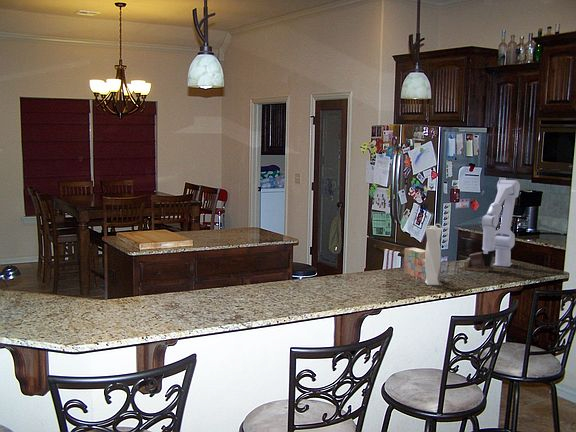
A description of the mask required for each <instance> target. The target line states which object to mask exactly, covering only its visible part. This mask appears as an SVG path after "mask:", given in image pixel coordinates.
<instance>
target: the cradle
mask: <svg viewBox="0 0 576 432" xmlns="http://www.w3.org/2000/svg"><path fill="white" fill-rule="evenodd" d="M493 267H494V265H493V264H491V265H490V267H488V266H486V267H484V268H472V265H471V261H470V257H468V258H466V259H465V261H464V266H463V270H464V271H472V270H473V271H475V272H483V273H489V271H490V270H489V269H493Z"/></svg>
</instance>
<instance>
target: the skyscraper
mask: <svg viewBox="0 0 576 432" xmlns="http://www.w3.org/2000/svg"><path fill="white" fill-rule="evenodd" d="M437 225H439V226H440V227H438V226H437ZM442 230H443V226H442V225H441V223H435V224H434V225H427V226H425V233H426V234H425V235H426V246H425V249H424V250H425V269H426V280H423V281H424V283H425V284H426V285H427V286H443V285H444V284H443V283H442V282H441V270H440V261H442V260H441V259H442V258H441V257H442V256H441V255H442V252H441V243H440V242H441V241H440V239H441V236H442Z"/></svg>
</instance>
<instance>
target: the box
mask: <svg viewBox="0 0 576 432" xmlns="http://www.w3.org/2000/svg"><path fill="white" fill-rule="evenodd" d="M482 252H483V251H480V252H475V253H471V254H469V257H468V258H470V261H471V265H472V268H482V269H485V268H484V267H486V266H485V262H484V257H483V255H482Z"/></svg>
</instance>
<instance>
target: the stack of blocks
mask: <svg viewBox="0 0 576 432" xmlns="http://www.w3.org/2000/svg"><path fill="white" fill-rule="evenodd" d="M425 250H426V249H422V248H417V247H407V248H404V256H403V257H404V258H403V259H404V263H403V264H404V265H403V267H404V268H403V269H404V270H403V271H404V272H403V273H404V274H406V273H407V275H409V274H410V276H412V277H415V278H418V279H422V280H423V281H426V269H425ZM441 266H442V260H440V271H441V270H442V269H441Z"/></svg>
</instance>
